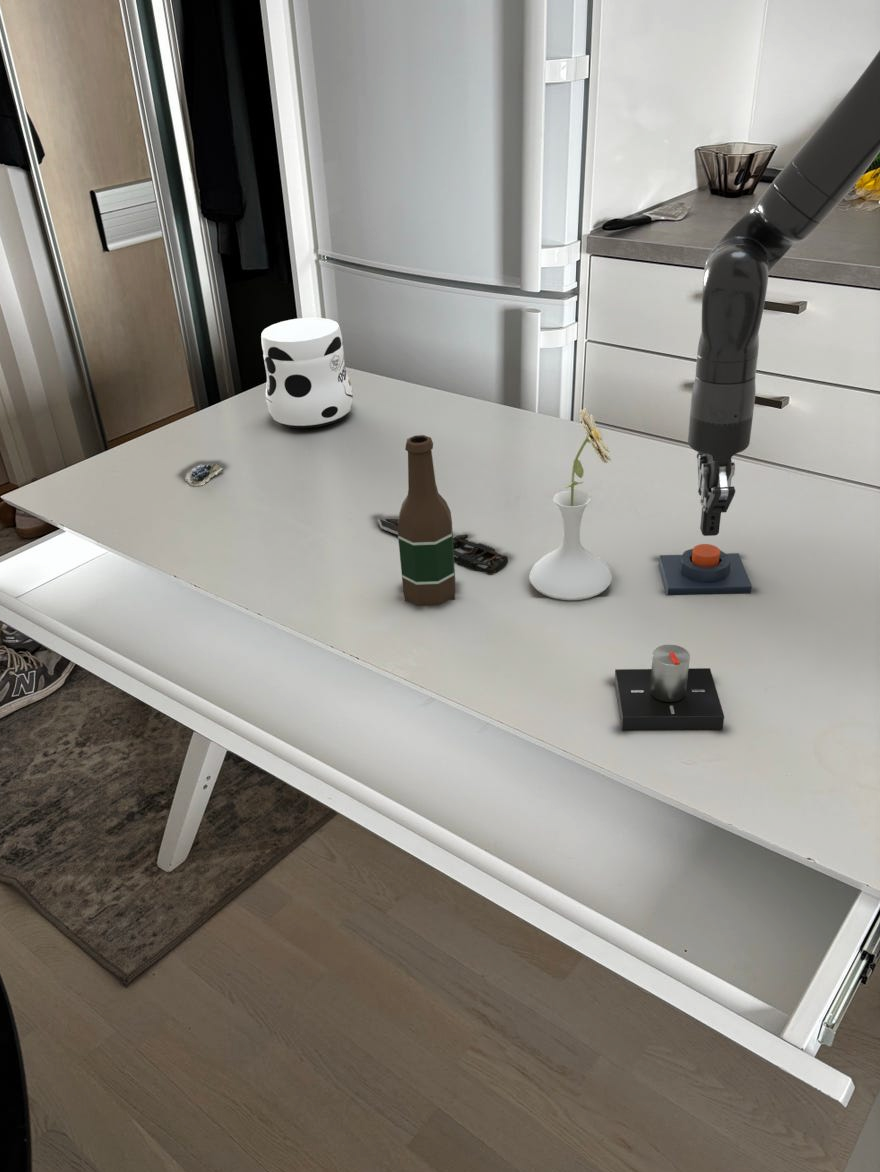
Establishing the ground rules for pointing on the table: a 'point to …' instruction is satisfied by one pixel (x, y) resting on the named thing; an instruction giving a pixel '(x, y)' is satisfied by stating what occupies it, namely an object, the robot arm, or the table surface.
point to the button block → (703, 575)
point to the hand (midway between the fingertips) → (709, 532)
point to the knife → (467, 557)
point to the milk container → (306, 373)
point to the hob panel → (667, 703)
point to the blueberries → (202, 474)
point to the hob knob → (669, 673)
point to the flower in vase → (574, 538)
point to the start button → (706, 555)
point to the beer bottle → (425, 532)
